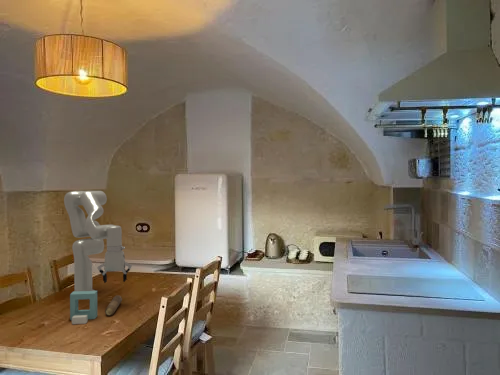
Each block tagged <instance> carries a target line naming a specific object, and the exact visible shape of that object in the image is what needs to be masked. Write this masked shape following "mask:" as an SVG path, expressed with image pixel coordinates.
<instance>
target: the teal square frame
mask: <svg viewBox="0 0 500 375" xmlns="http://www.w3.org/2000/svg"><path fill="white" fill-rule="evenodd" d="M74 291H75V290H74ZM79 300H89V309H80V310H79ZM75 315H88V320H95V319H96V318H97V317H98V290H95V291H75V292H73V291H72V292H71V293H70V294H69V319H70V321H72V317H73V316H75Z"/></svg>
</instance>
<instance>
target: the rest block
mask: <svg viewBox="0 0 500 375" xmlns="http://www.w3.org/2000/svg"><path fill="white" fill-rule="evenodd" d="M88 320H89V319H88V315H75V316H73V317H72V320H71V324H72V325H83V324H84V325H85V324H87V323H88Z"/></svg>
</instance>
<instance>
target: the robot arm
mask: <svg viewBox="0 0 500 375" xmlns="http://www.w3.org/2000/svg"><path fill="white" fill-rule="evenodd" d="M107 198H108V197H107V194H106V193H105V192H104V191H102V190H72V191H71V190H70V191H68V192H66V193H65V194H64V198H63V199H64V200H63V203H64V204H63V205H64V208H65V210H66V212H67V214H68V218H69V222H70V227H71V232H72V235H73V237H75V238H81V239H77V240H75V241H74V242H73V243H72V246H71V247H72V248H71V249H72V254H73V262H74V263H73V264H74V266H73V268H74V273H73V274H74V276H73V277H74V291H72V292H75V291H96V290H95V289H93V262H92V259H91V258H90V257H89V256H92V255H97V254H101V253H103V252H104V250H105V242H104V240H106V252H105V254H104V263H102V264H100V265H98V266H97V269H98V271H99V273H100V274H101V275H102V281H103V283H104V284H105V283H107V282H108V276H107V275H108V274H107V272H122V273H123V274H122V282H123V283H125V282H126V281H127V280H128V279H127V276H128V273H129V272H130V270H131V269H132V266H133V265H132V264H130V263H128V262H126V257H125V252H124V251H125V249H126V248H125V246H123V244H122V243H123V241H122V239H123V238H122V236H123V233H122V231H123V230H122V226H120V225H115V224H100V222H98V221H97V219H99V218H100V217H101V216H103V214H104V211H105V210H104V208H103V206H104V205H105V204H106V203H107V200H108V199H107ZM80 206H82V207H83V208H84V210H85V211H86V214H87V217H86V214H85V211H84V210H83V209H82V208H80ZM88 237H90V238H88ZM126 267H127V269H126ZM102 268H104V270H103V269H102Z"/></svg>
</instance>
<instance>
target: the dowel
mask: <svg viewBox="0 0 500 375" xmlns="http://www.w3.org/2000/svg"><path fill="white" fill-rule="evenodd" d="M122 301H123V298H122V296H121V295H118V294H117V295H114V297H113V298H112V300H110V302H109V303H108V305H107V306H106V307H105V309H104V313H105V315H106V316H114V313H115V312H116V311H117V309H118V307H119V306H120V304H121V303H122Z"/></svg>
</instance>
